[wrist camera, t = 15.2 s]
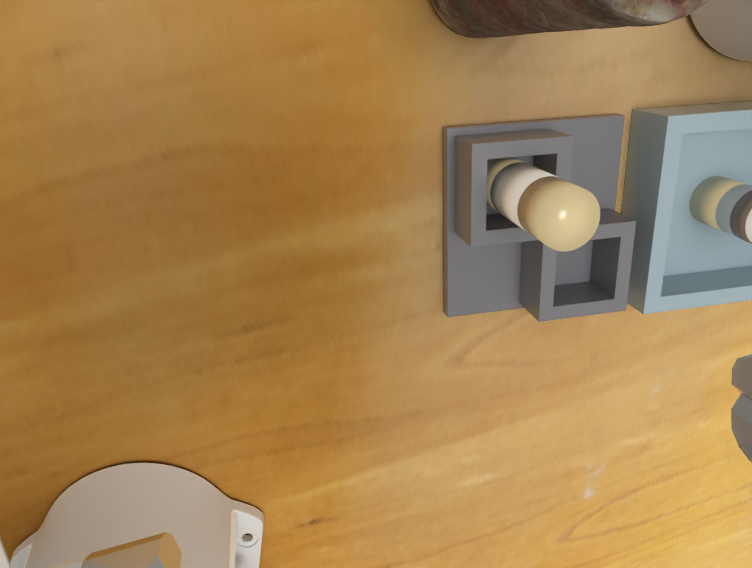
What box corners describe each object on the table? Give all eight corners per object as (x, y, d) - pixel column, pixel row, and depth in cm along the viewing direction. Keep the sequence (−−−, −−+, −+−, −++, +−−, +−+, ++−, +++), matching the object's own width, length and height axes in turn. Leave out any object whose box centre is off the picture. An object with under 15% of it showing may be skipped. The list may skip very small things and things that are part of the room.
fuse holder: (599, 292, 48) (631, 315, 44) (443, 311, 46) (462, 338, 42) (616, 113, 43) (654, 121, 39) (442, 126, 41) (464, 136, 37)
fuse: (524, 204, 43) (597, 248, 34) (475, 209, 43) (536, 254, 34) (526, 152, 42) (603, 184, 33) (476, 156, 42) (539, 190, 32)
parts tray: (770, 273, 51) (811, 292, 47) (613, 293, 49) (643, 314, 45) (806, 96, 46) (856, 101, 42) (632, 109, 43) (668, 116, 40)
